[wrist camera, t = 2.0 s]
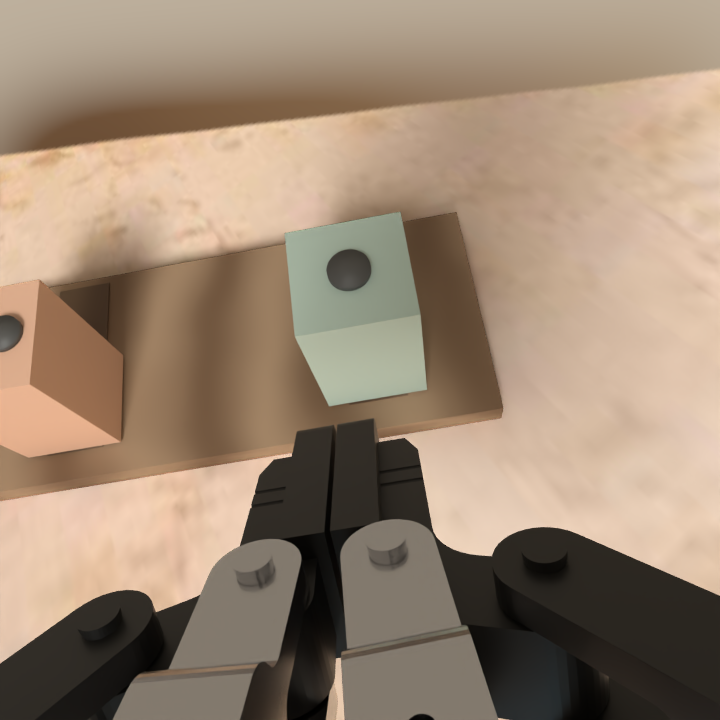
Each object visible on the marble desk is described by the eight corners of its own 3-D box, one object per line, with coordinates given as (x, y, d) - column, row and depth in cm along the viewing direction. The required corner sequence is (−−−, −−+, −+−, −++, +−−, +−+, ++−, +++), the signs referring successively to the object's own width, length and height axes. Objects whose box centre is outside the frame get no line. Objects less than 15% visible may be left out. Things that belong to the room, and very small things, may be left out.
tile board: (455, 227, 38) (456, 211, 37) (501, 417, 33) (503, 407, 32) (4, 310, 40) (-13, 297, 38) (-18, 504, 35) (-39, 497, 33)
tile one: (427, 389, 32) (420, 310, 25) (329, 406, 33) (293, 333, 25) (410, 303, 34) (400, 207, 27) (318, 320, 35) (282, 229, 27)
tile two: (121, 442, 33) (24, 381, 26) (28, 457, 34) (-94, 402, 26) (123, 355, 35) (35, 275, 28) (36, 370, 36) (-74, 296, 28)
